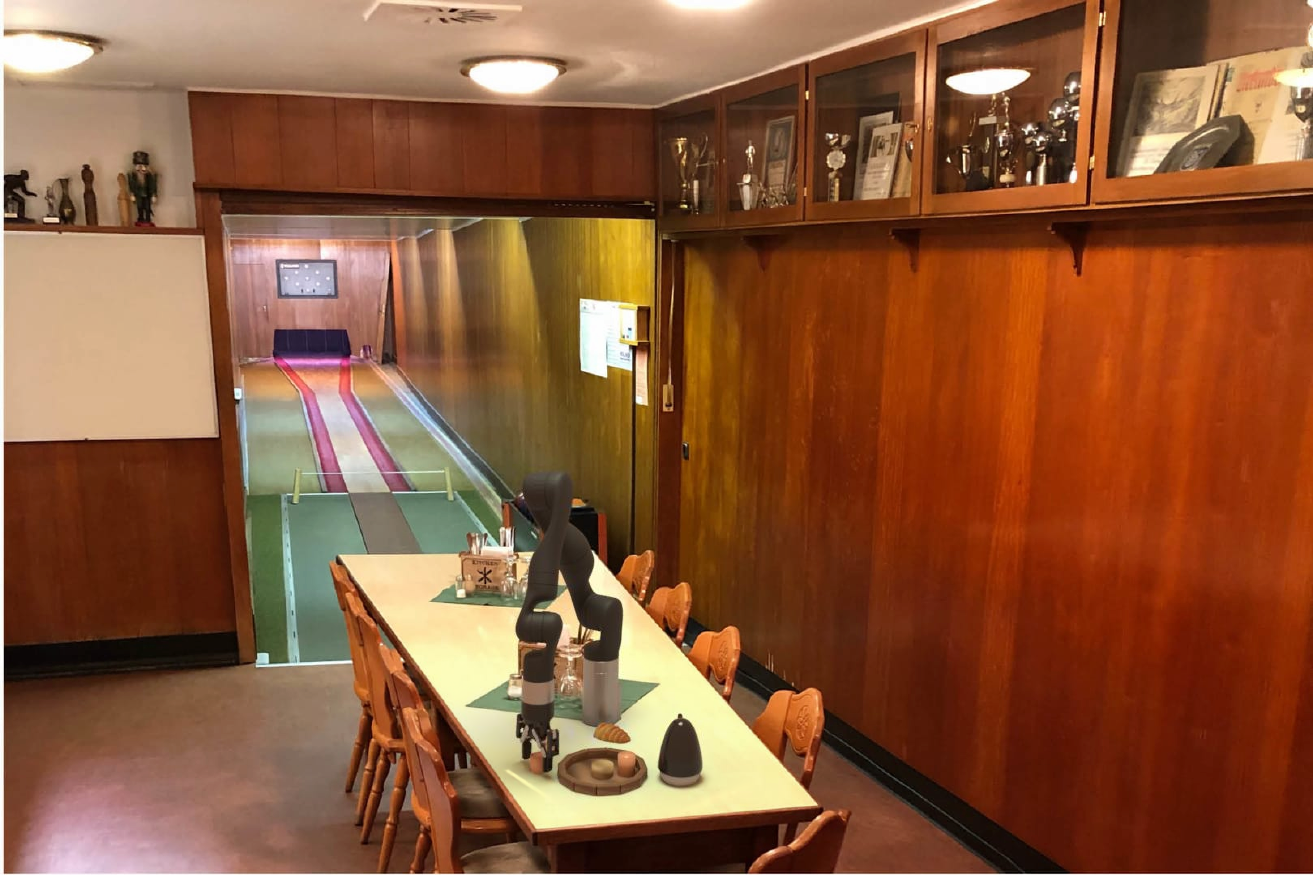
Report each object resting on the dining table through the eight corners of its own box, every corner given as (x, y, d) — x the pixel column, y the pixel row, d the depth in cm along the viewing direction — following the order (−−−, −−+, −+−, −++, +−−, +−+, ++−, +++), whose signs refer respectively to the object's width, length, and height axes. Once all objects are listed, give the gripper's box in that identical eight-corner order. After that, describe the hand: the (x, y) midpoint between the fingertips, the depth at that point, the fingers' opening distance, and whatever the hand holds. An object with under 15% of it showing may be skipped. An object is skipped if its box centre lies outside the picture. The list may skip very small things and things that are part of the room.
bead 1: (541, 768, 241) (541, 750, 240) (550, 774, 238) (551, 756, 237) (526, 773, 238) (526, 754, 238) (536, 779, 235) (536, 760, 235)
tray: (609, 752, 250) (610, 738, 250) (664, 782, 235) (664, 767, 235) (541, 775, 237) (541, 760, 237) (593, 808, 222) (594, 793, 222)
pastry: (636, 742, 257) (636, 727, 256) (620, 751, 251) (620, 736, 251) (606, 732, 262) (607, 718, 262) (590, 741, 257) (590, 726, 256)
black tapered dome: (700, 771, 241) (702, 709, 239) (703, 792, 231) (705, 727, 229) (656, 771, 240) (658, 709, 238) (658, 792, 230) (659, 727, 228)
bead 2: (627, 767, 240) (628, 749, 239) (638, 773, 237) (638, 755, 236) (614, 772, 237) (614, 753, 237) (624, 778, 234) (625, 759, 234)
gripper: (569, 702, 233) (568, 771, 234) (534, 684, 243) (533, 750, 245) (541, 710, 228) (540, 780, 230) (507, 691, 238) (506, 758, 240)
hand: (536, 764), depth 237 cm, fingers open, 8 cm apart
